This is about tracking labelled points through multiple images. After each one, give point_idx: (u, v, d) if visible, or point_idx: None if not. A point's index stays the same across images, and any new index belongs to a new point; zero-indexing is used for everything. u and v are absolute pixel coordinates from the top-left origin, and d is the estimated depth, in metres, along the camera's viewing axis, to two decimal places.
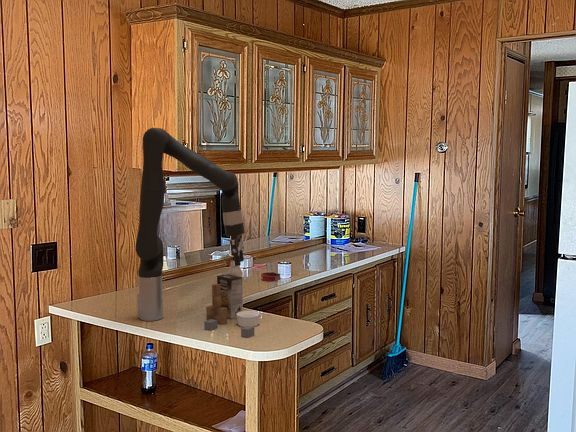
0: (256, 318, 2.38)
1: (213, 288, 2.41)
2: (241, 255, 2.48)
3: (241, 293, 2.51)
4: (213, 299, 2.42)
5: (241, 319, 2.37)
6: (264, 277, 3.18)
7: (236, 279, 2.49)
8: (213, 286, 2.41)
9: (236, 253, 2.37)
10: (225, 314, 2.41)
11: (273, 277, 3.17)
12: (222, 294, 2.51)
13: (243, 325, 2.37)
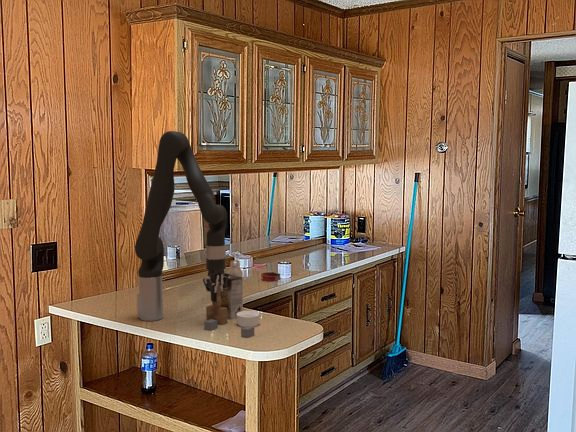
0: (256, 318, 2.38)
1: (213, 288, 2.41)
2: None
3: (241, 293, 2.51)
4: None
5: (241, 319, 2.37)
6: (264, 277, 3.18)
7: (236, 279, 2.49)
8: (213, 286, 2.41)
9: (210, 290, 2.38)
10: (225, 314, 2.41)
11: (273, 277, 3.17)
12: (222, 294, 2.51)
13: (243, 325, 2.37)
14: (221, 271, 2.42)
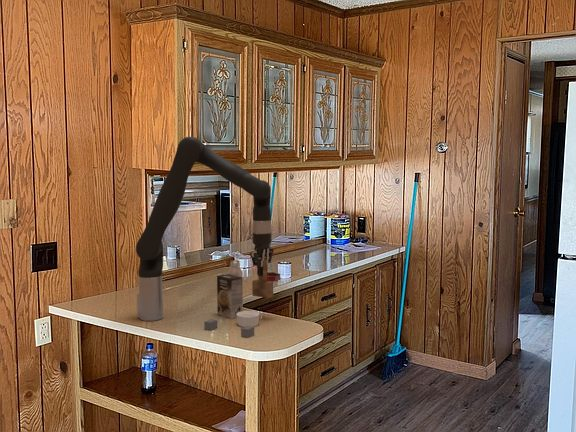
0: (256, 318, 2.38)
1: None
2: None
3: (241, 293, 2.51)
4: None
5: (241, 319, 2.37)
6: None
7: (236, 279, 2.49)
8: (259, 260, 2.45)
9: (257, 264, 2.42)
10: (271, 288, 2.45)
11: (273, 277, 3.17)
12: (222, 294, 2.51)
13: (243, 325, 2.37)
14: (267, 246, 2.47)
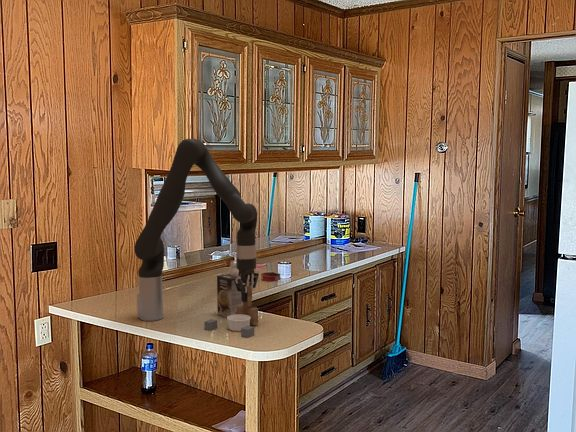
0: (247, 321, 2.32)
1: (244, 288, 2.38)
2: None
3: None
4: None
5: (232, 323, 2.31)
6: (264, 277, 3.18)
7: None
8: (243, 286, 2.38)
9: (241, 290, 2.34)
10: (256, 314, 2.38)
11: (273, 277, 3.17)
12: (222, 294, 2.51)
13: (234, 329, 2.31)
14: (251, 271, 2.39)
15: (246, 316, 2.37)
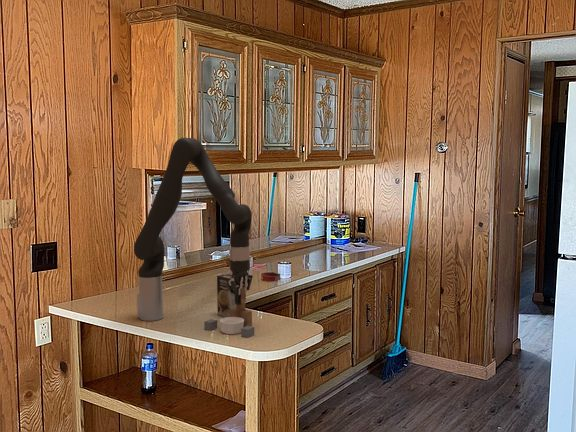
0: (241, 324, 2.29)
1: (237, 290, 2.34)
2: None
3: None
4: None
5: (225, 326, 2.27)
6: (264, 277, 3.18)
7: None
8: None
9: (234, 292, 2.31)
10: (250, 317, 2.34)
11: (273, 277, 3.17)
12: (222, 294, 2.51)
13: (228, 332, 2.27)
14: (245, 273, 2.35)
15: (239, 319, 2.34)
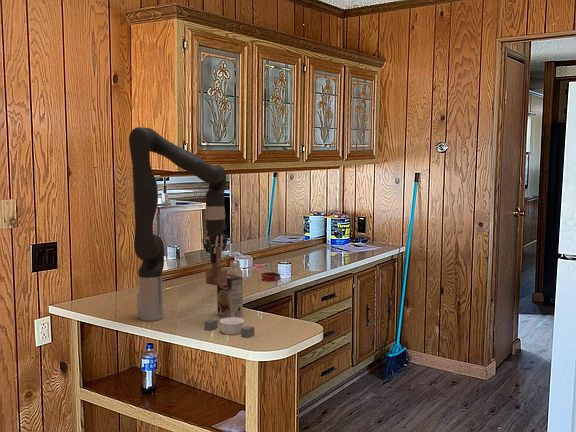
0: (241, 325, 2.29)
1: None
2: None
3: (241, 293, 2.51)
4: None
5: (225, 326, 2.27)
6: (264, 277, 3.18)
7: (236, 279, 2.49)
8: (212, 247, 2.39)
9: (210, 250, 2.36)
10: (225, 275, 2.39)
11: (273, 277, 3.17)
12: (222, 294, 2.51)
13: (227, 332, 2.27)
14: (220, 232, 2.40)
15: (239, 319, 2.34)
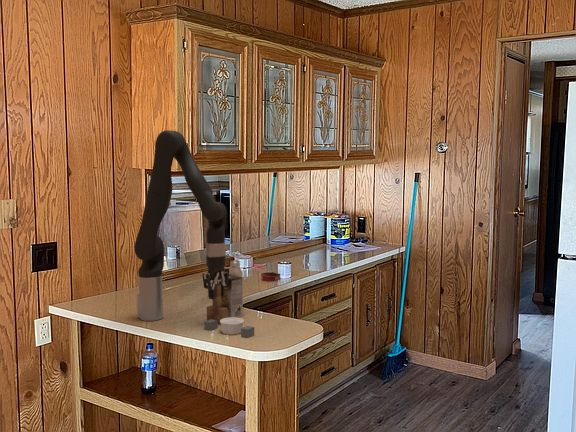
0: (241, 325, 2.29)
1: None
2: (221, 289, 2.44)
3: (241, 293, 2.51)
4: (213, 299, 2.41)
5: (225, 326, 2.27)
6: (264, 277, 3.18)
7: (236, 279, 2.49)
8: None
9: (208, 287, 2.36)
10: (225, 314, 2.41)
11: (273, 277, 3.17)
12: None
13: (227, 332, 2.27)
14: (221, 268, 2.42)
15: (239, 319, 2.34)
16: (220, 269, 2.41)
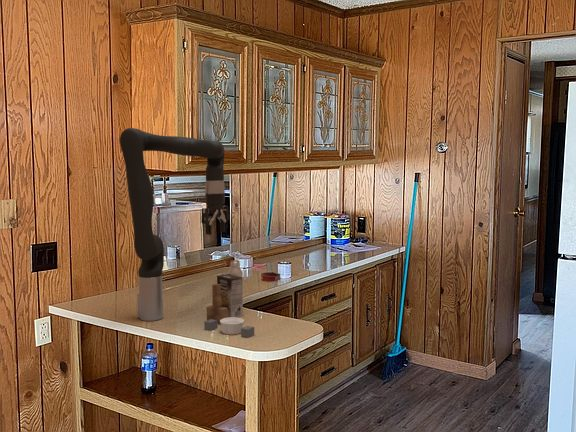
0: (241, 325, 2.29)
1: (213, 288, 2.41)
2: (222, 226, 2.49)
3: (241, 293, 2.51)
4: (213, 299, 2.41)
5: (225, 326, 2.27)
6: (264, 277, 3.18)
7: (236, 279, 2.49)
8: (213, 286, 2.41)
9: (205, 222, 2.39)
10: (225, 314, 2.41)
11: (273, 277, 3.17)
12: (222, 294, 2.51)
13: (227, 332, 2.27)
14: (220, 206, 2.46)
15: (239, 319, 2.34)
16: (219, 207, 2.45)
